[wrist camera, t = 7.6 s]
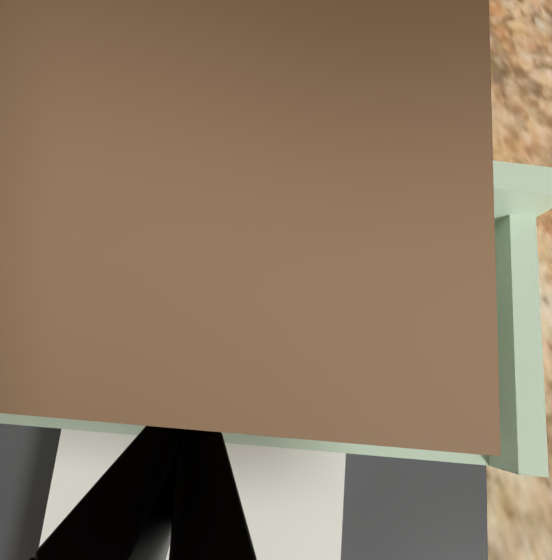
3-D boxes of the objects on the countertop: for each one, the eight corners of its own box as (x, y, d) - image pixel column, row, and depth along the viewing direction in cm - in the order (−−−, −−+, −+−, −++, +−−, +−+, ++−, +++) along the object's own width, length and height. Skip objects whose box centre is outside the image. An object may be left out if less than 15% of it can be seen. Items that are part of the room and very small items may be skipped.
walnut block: (296, 405, 13) (501, 455, 3) (122, 390, 13) (-376, 381, 3) (308, 242, 15) (484, -158, 4) (149, 225, 14) (-115, -247, 4)
